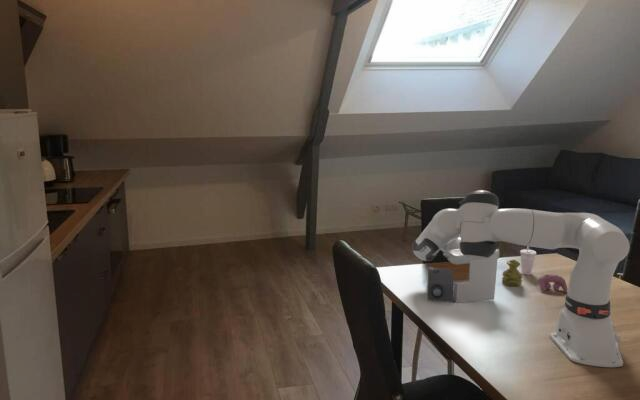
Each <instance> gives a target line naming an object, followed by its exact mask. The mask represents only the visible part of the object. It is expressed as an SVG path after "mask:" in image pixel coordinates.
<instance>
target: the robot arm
mask: <svg viewBox="0 0 640 400" xmlns="http://www.w3.org/2000/svg"><path fill="white" fill-rule="evenodd" d="M458 204H459V205H460V206H459V208H452V207H451V208H450V207H449V208H444V209H440V210H439V211H438V212H437V213H435V214H434V216H433V217H432V219H431V220H430V222H428V225H427V226H426V227H425V228H424V229H423V231H421V233H420V234H419V236H418V237H417V238H416V239H415V240H414V242H412V244H411V250H412V252H413V254H414V255H415V257H417V258H418V259H420V260H421V261H424V262H429V261H430V262H431V261H433V260H434V259H435V258H436V256H437V254H438V253H439V252H440V251H442V255H443V256H444V257H445V258H446V259H447V260H448V262H450V263H451V264H452V265H456V266H458V265H467V264H470V258H471V259H476V260H480V259H485V258H489V257H490V256H491V255H493V254H494V252H495V251H498V258H497V260H500V248H501V246H499V245H496V244H497V243H498V242H505V243H509V244H513V245H518V246H523V247H527V246H529V247H530V248H531V247H532V248H539V249H546V250H557V249H559V248H560V249H561V248H571V249H577V250H578V253H579V255H578V258H577V260H576V263H575V265H574V266H573V267H572V268H571V269H570V272H569V281H568V286H567V293H566V295H565V298H564V307H563V308H562V309H561V310H560V311H559V312H558V316H557V320H556V327H555V331H552V332H551V333H549V338H550V339H551V341H553V343H554V344H555V345H556V346H557V347H558V349H560V350H561V351H562V353H564V355H565V356H566V357H567V358H568V359H569V360H570V361H572V362H575V363H578V364H581V365H586V366H592V367H600V368H601V367H602V368H619V367H624V361H623V358H622V354H621V351H620V348H619V344H618V343H620V342H621V334H618V333H615V332H614V330H616V324H613V321H612V316H611V301H610V295H611V289H612V283H613V276H614V274H615V271H616V270H617V267H618V265H619V263H620V262H622V261H623V260H624V259H625V258H626V257H627V255H628V254H629V252H630V248H631V247H630V241H629V239H628V238H627V236H626V235H625V233H624V232H623V231H622V229H621V228H619V227H618V226H617V225H615V224H613V223H611V222H609V221H607V220H605V218H602V217H601V216H599V215H597V214H595V213H589V212H553V211H547V210H546V211H545V210H537V209H529V208H518V207H517V208H514V207H513V208H511V207H510V208H499V207H500V201H499V197H498V195H496V194H495V193H493V192H490V191H488V190H484V189H480V190H475V191H474V190H473V191H471V192H469V193H468V194H467V195H465V196H464V197H463V199H462V200H459V201H458Z"/></svg>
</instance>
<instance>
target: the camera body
mask: <svg viewBox="0 0 640 400" xmlns="http://www.w3.org/2000/svg"><path fill="white" fill-rule="evenodd" d="M453 276H454V275H453V269H452V268H443V267H442V268H441V267H430V266H429V267H428V268H427V288H426V290H427V295H426V296H427V299H426V300H427V301H433V300H435V302H448V303H454V302H453V293H454V283H455V282H454V278H453Z"/></svg>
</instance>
